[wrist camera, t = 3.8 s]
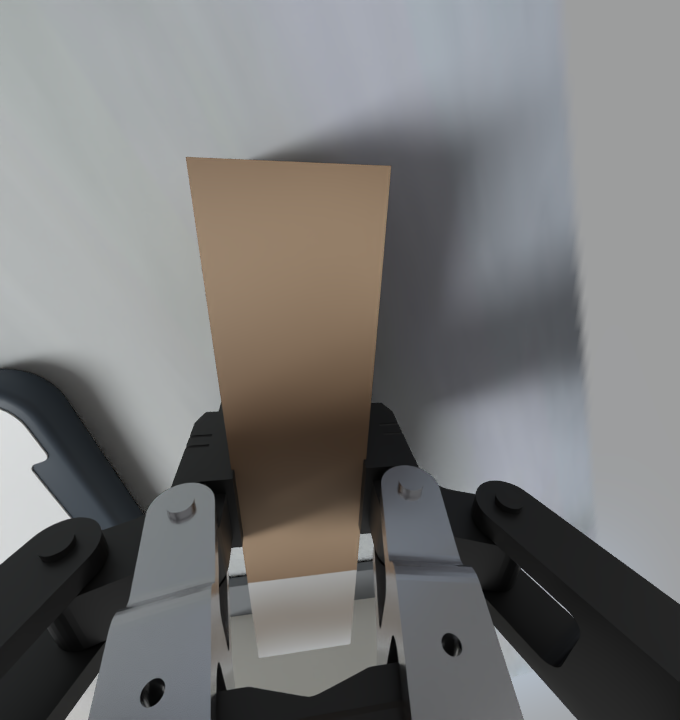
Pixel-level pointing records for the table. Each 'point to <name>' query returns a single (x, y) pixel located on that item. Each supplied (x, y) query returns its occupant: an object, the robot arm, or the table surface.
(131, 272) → the table surface
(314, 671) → the tile
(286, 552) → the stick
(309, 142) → the table surface
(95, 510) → the phone case
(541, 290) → the table surface
